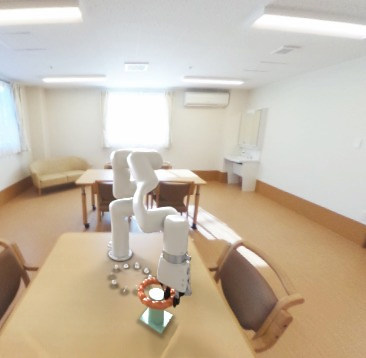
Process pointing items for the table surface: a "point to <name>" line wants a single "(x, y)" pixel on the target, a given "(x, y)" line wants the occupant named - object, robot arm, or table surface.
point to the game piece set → (135, 267)
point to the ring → (150, 303)
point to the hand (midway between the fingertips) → (171, 302)
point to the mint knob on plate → (156, 312)
